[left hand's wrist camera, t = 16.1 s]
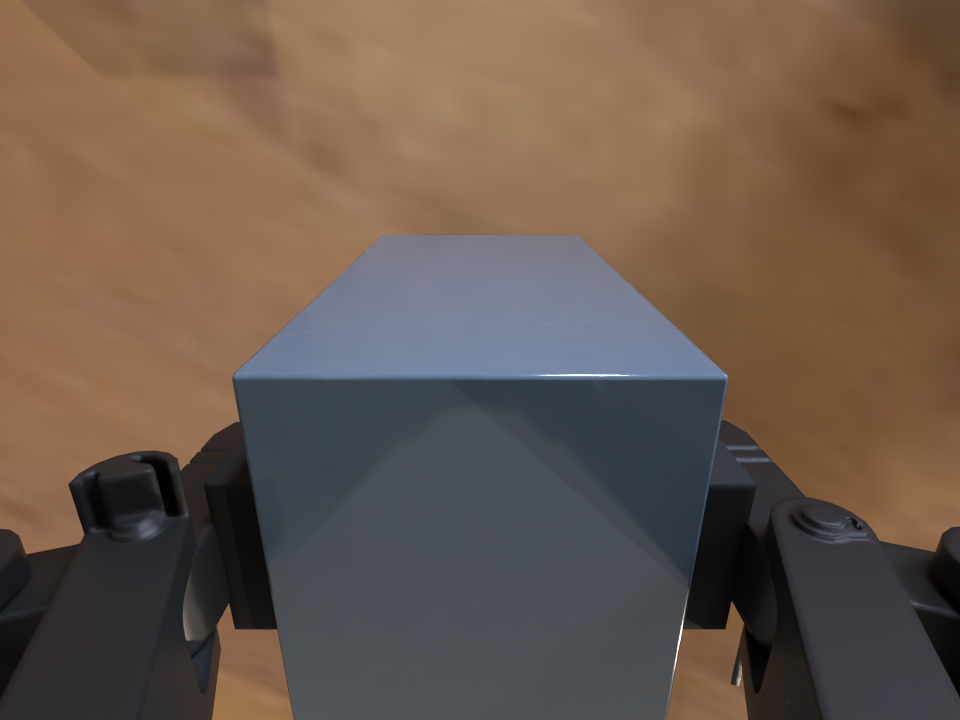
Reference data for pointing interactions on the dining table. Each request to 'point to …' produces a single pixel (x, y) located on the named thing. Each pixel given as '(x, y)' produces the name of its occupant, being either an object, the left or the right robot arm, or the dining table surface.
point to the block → (480, 484)
